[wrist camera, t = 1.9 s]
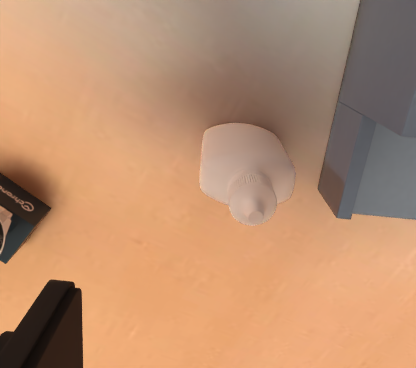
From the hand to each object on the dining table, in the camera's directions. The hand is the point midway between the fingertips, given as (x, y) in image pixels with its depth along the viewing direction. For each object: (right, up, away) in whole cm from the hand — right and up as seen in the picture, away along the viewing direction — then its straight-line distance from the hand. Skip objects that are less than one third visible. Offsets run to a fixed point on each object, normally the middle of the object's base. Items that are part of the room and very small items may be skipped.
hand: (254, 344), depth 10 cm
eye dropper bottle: (+1, +7, +19) cm, 20 cm away
